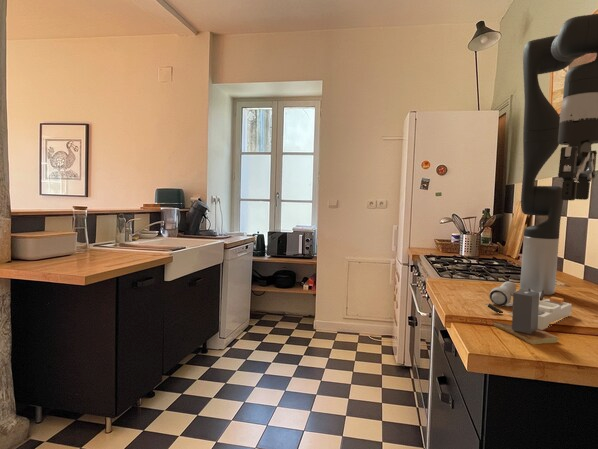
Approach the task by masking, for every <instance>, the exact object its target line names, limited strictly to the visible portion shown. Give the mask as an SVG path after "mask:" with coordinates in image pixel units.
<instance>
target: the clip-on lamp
mask: <svg viewBox="0 0 598 449" xmlns="http://www.w3.org/2000/svg"><path fill="white" fill-rule="evenodd" d="M516 291H517V286H516V285H515V283H514V282H513V281H509V280H507V281H505V282H503V283H501V285H499V286H495V287H493V288H492V289H491V291H489V295H488V296H489V300H490V301H491V303H492V304H491V303H486V302H485V303H484V305H486V306H487V308H488V309H491V311H494V312H495V313H497V312H499V313H503V312H504V311H503V310H501V309H500V308H498V307H496V306H498V304H499V305H502V306H501V307H505V306H506V307H513V301H512V302H511V300H512V297H513V293H514V292H516ZM528 291H532V290H531V289H528ZM532 292H534V291H532ZM538 293H539V300H540V301H541V300H544V290H542V292H538ZM493 304H494V305H493ZM509 314H510V315H513V311H512V312H510V313H509Z"/></svg>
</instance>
